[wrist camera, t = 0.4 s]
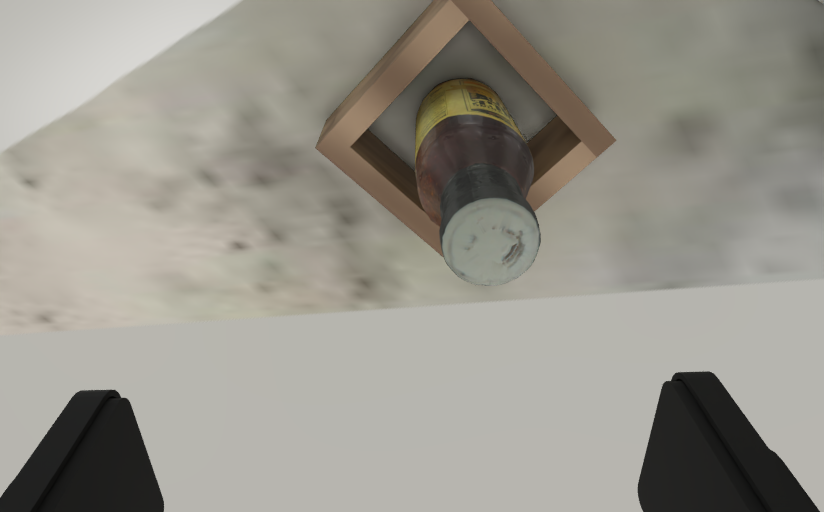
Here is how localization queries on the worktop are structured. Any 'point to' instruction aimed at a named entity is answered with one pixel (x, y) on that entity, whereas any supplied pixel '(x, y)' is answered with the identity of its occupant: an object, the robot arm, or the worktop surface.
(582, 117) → the walnut sleeve
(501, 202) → the sauce bottle
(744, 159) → the worktop surface
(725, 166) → the worktop surface
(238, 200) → the worktop surface
